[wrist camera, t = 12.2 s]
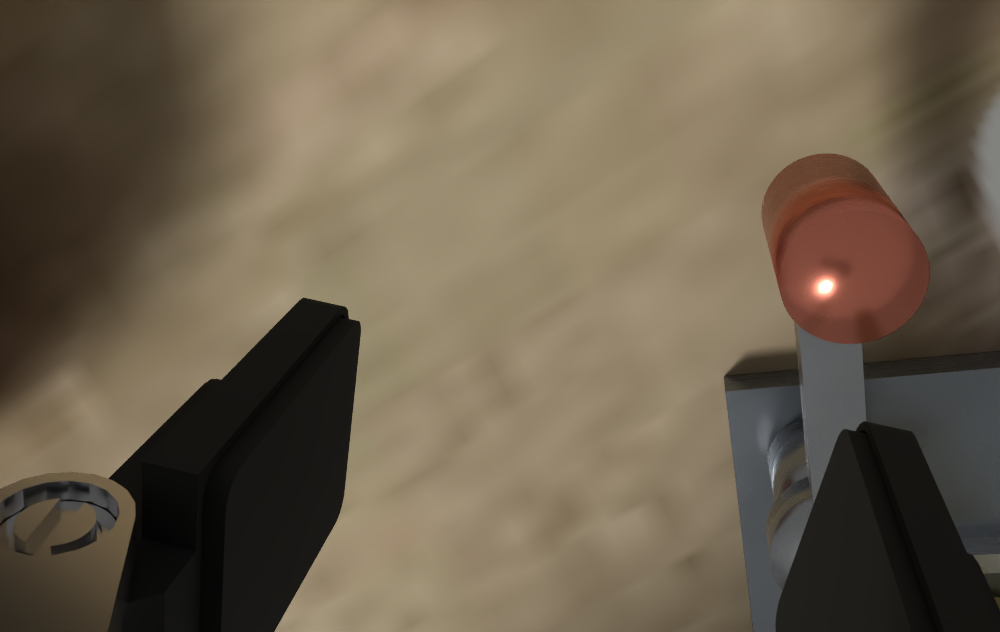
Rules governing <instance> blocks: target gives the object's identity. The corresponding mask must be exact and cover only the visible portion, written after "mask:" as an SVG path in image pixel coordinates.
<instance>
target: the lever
mask: <svg viewBox="0 0 1000 632" xmlns="http://www.w3.org/2000/svg"><path fill="white" fill-rule="evenodd" d="M762 223H763V228H764V232H765V236H766V240H767V243H768V247H769V251H770V255H771V259H772V263H773V267H774V271H775V274H776V278H777V282H778V286H779V290H780V294H781V297H782V301H783V304H784V306H785V308H786V310H787V312H788V313H789V315H790V316H791V318H792V319H793V320H794V323H795V335H796V347H797V358H798V370H799V382H800V394H801V406H802V418H803V430H804V442H805V453H806V465H807V477H806V478H804V479H801V480H799V481H797V482H796V483H794V484H793V485H791V486H790V487H788V488H787V489H786V490H785V491H784V492H783V493H782V494H781V495H780V496H779V497H778V498H777V500H776V501H775V503H774V504H773V506H772V508H771V510H770V512H769V515H768V518H767V524H766V536H767V544H768V551H769V558H770V565H771V571H772V574H773V577H774V579H775V581H776V583H777V585H778V586H779V588H780V589H781V590H782V591H783V588H784V585H785V582H786V580H787V577H788V574H789V571H790V568H791V566H792V563H793V560H794V557H795V555H796V552H797V549H798V546H799V543H800V541H801V538H802V535H803V532H804V529H805V527H806V524H807V521H808V518H809V516H810V513H811V510H812V507H813V504H814V502H815V499H816V496H817V493H818V490H819V488H820V485H821V482H822V479H823V477H824V474H825V471H826V468H827V465H828V463H829V460H830V457H831V454H832V452H833V449H834V446H835V443H836V440H837V438H838V436H839V434H840V432H841V431H842V430H843V429H848V430H852V431H856V429H857V427H858V426H859V424H860V423H862V422H863V421H866V407H865V389H864V371H863V354H862V343H865V342H870V341H873V340H877V339H879V338H882V337H884V336H887V335H888V334H890V333H892V332H894V331H895V330H897V329H898V328H900V327H901V326H903V325H904V324H905V323H906V322H907V321H908V320H909V319H910V318H911V317H912V316H913V315H914V314H915V313H916V311H917V310H918V308H919V307H920V305H921V303H922V301H923V299H924V298H925V295H926V292H927V289H928V285H929V279H930V267H929V260H928V256H927V253H926V251H925V248H924V246H923V244H922V243H921V241H920V239H919V238H918V236H917V235H916V234H915V232H914V231H913V230H912V228H911V227H910V225H909V224H908V223H907V221H906V220H905V219H904V217H903V216H902V214H901V213H900V212H899V210H898V209H897V207H896V206H895V205H894V203H893V202H892V201H891V199H890V198H889V196H888V195H887V194H886V192H885V191H884V190H883V188H882V187H881V185H880V184H879V183H878V181H877V180H876V178H875V177H874V176H873V175H872V173H871V172H870V171H869V170H868V169H867V168H866V167H865V166H863V165H862V164H860V163H859V162H857V161H856V160H853V159H851V158H849V157H846V156H843V155H837V154H816V155H811V156H808V157H805V158H802V159H800V160H797V161H795V162H793V163H792V164H790V165H789V166H787V167H786V168H785V169H783V170H782V171H781V172H780V173H779V174H778V175H777V176H776V177H775V179H774V180H773V181H772V183H771V184H770V186H769V188H768V189H767V192H766V194H765V196H764V200H763V204H762Z"/></svg>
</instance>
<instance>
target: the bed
mask: <svg viewBox="0 0 1000 632" xmlns="http://www.w3.org/2000/svg"><path fill="white" fill-rule="evenodd" d="M863 371H864V389H865V407H866V422H871V423H875V424H880V425H884V426H889V427H894V428H898V429H903V430H907V431H912V432H913V434H914V435H915V437H916V439H917V441H918V443H919V446H920V448H921V450H922V452H923V455H924V457H925V459H926V461H927V464H928V466H929V468H930V470H931V473H932V475H933V477H934V479H935V482H936V484H937V486H938V488H939V491H940V493H941V495H942V497H943V500H944V502H945V504H946V506H947V509H948V511H949V513H950V515H951V518H952V520H953V522H954V524H955V527H956V529H957V531H958V533H959V536H960V538H961V540H962V542H963V545H964V547H965V549H966V551H967V553H969V554H971V555H973V556H974V557H975V559H976V560H977V562H978V563H979V565H980V567H981V569H982V572H983V574H984V576H985V578H986V580H987V583H988V585H989V587H990V589H991V591H992V594H993V596H995V597H1000V351H997V352H986V353H975V354H964V355H953V356H942V357H931V358H920V359H909V360H898V361H887V362H876V363H865V364H863ZM724 381H725V392H726V401H727V409H728V418H729V426H730V435H731V444H732V452H733V461H734V469H735V478H736V487H737V495H738V504H739V512H740V521H741V530H742V538H743V547H744V555H745V564H746V573H747V581H748V590H749V598H750V607H751V616H752V624H753V632H776V628H775V623H776V613H777V607H778V603H779V599H780V596H781V594H782V590H781V589H780V588H779V586H778V585H777V583H776V581H775V579H774V577H773V574H772V571H771V565H770V558H769V551H768V544H767V536H766V524H767V518H768V515H769V512H770V510H771V508H772V506H773V504H774V503H775V501H776V500H777V498H778V497H779V496H780V495H781V494H782V493H783V492H784V491H785V490H786V489H787V488H788V487H790V486H791V485H793V484H794V483H796V482H797V481H799V480H801V479H804V478H806V477H807V465H806V453H805V442H804V430H803V418H802V406H801V394H800V382H799V370H789V371H778V372H767V373H756V374H745V375H734V376H724Z"/></svg>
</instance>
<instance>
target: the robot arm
mask: <svg viewBox="0 0 1000 632" xmlns="http://www.w3.org/2000/svg"><path fill="white" fill-rule="evenodd" d="M360 335H361V326H360V322H359V321H355V320H351V319H349V316H348V310H347V308H346V307H343V306H339V305H334V304H330V303H325V302H321V301H316V300H312V299H307V298H302V299H301V300H299V302H298V303H297V304H296V305H295V306H294V307H293V308H292V309H291V310H290V311H289V312H288V313H287V314H286V315H285V316H284V317H283V318H282V319H281V320H280V321H279V322H278V323H277V324H276V325H275V326H274V327H273V328H272V329H271V330H270V331H269V332H268V333H267V334H266V335H265V336H264V337H263V338H262V339H261V340H260V341H259V342H258V343H257V344H256V345H255V346H254V347H253V348H252V349H251V350H250V351H249V352H248V353H247V354H246V356H245V357H244V358H243V359H242V360H241V361H240V362H239V363H238V364H237V365H236V366H235V367H234V368H233V369H232V370H231V371H230V372H229V373H228V374H227V375H226V376H225V377H224V378H223V379H222V380H219V379H211V380H209V381H208V382H206V383H205V384H204V385H203V386H201V387H200V388H199V389H198V390H197V391H196V392H195V393H194V394H193V395H192V396H191V397H190V398H189V399H188V400H187V401H186V402H185V403H184V404H183V405H182V406H181V407H180V408H179V409H178V410H177V411H176V412H175V413H174V414H173V415H172V416H171V417H170V418H169V419H168V420H167V421H166V422H165V423H164V424H163V425H162V426H161V427H160V428H159V429H158V430H157V431H156V432H155V433H154V434H153V435H152V436H151V437H150V438H149V439H148V440H147V441H146V442H145V443H144V444H143V445H142V446H141V447H140V448H139V449H138V450H137V451H136V452H135V453H134V454H133V455H132V456H131V457H130V458H129V459H128V460H127V461H126V462H125V463H124V464H123V465H122V466H121V467H120V468H119V469H118V470H117V471H116V472H115V473H114V474H113V475H112V476H111V477H110V478H109V479H107V478H104V477H101V476H98V475H95V474H87V473H77V472H62V473H48V474H43V475H39V476H34V477H30V478H26V479H22V480H20V481H17V482H15V483H13V484H10V485H8V486H6V487H3V488H1V489H0V632H274V631H275V629H276V627H277V626H278V624H279V622H280V620H281V619H282V617H283V615H284V613H285V612H286V610H287V608H288V606H289V604H290V603H291V601H292V599H293V597H294V596H295V594H296V592H297V590H298V589H299V587H300V585H301V583H302V582H303V580H304V578H305V576H306V574H307V573H308V571H309V569H310V567H311V566H312V564H313V562H314V560H315V559H316V557H317V555H318V553H319V551H320V550H321V548H322V546H323V544H324V543H325V541H326V539H327V537H328V536H329V534H330V532H331V530H332V528H333V527H334V525H335V523H336V521H337V519H338V516H339V513H340V510H341V507H342V503H343V498H344V490H345V481H346V471H347V461H348V452H349V442H350V432H351V423H352V413H353V403H354V393H355V384H356V374H357V364H358V355H359V345H360ZM775 628H776V632H1000V609H999V607H998V605H997V602H996V600H995V598H994V596H993V594H992V591H991V589H990V587H989V585H988V583H987V580H986V578H985V576H984V574H983V572H982V569H981V567H980V565H979V563H978V562H977V560H976V559H975V557H974V556H973V555H971V554H969V553H967V551H966V549H965V547H964V545H963V542H962V540H961V538H960V536H959V533H958V531H957V529H956V527H955V524H954V522H953V520H952V518H951V515H950V513H949V511H948V509H947V506H946V504H945V502H944V500H943V497H942V495H941V493H940V491H939V488H938V486H937V484H936V482H935V479H934V477H933V475H932V473H931V470H930V468H929V466H928V464H927V461H926V459H925V457H924V455H923V452H922V450H921V448H920V446H919V443H918V441H917V439H916V437H915V435H914V434H913V432H912V431H907V430H903V429H898V428H894V427H889V426H884V425H880V424H875V423H871V422H866V421H863V422H862V423H860V424H859V426H858V427H857V429H856V431H852V430H848V429H843V430H842V431H841V432H840V434H839V436H838V438H837V440H836V443H835V446H834V449H833V452H832V454H831V457H830V460H829V463H828V465H827V468H826V471H825V474H824V477H823V479H822V482H821V485H820V488H819V490H818V493H817V496H816V499H815V502H814V504H813V507H812V510H811V513H810V516H809V518H808V521H807V524H806V527H805V529H804V532H803V535H802V538H801V541H800V543H799V546H798V549H797V552H796V555H795V557H794V560H793V563H792V566H791V568H790V571H789V574H788V577H787V580H786V582H785V585H784V588H783V591H782V594H781V596H780V599H779V603H778V607H777V613H776V623H775Z"/></svg>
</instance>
